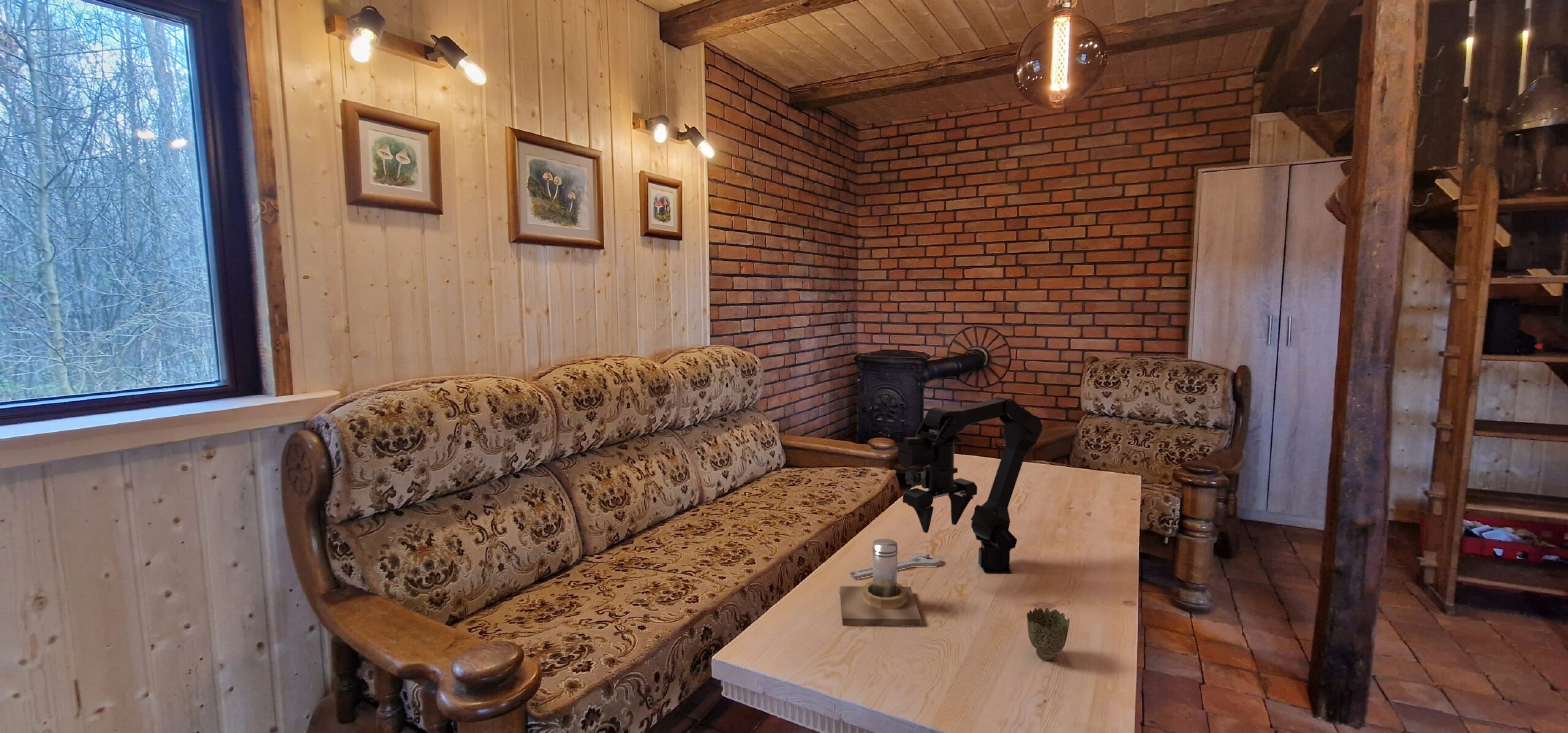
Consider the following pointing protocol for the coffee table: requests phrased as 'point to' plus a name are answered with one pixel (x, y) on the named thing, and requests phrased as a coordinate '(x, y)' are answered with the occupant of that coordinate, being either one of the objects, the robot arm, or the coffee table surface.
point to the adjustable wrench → (902, 565)
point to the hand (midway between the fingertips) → (939, 528)
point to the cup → (1047, 632)
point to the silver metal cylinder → (885, 568)
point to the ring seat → (878, 607)
